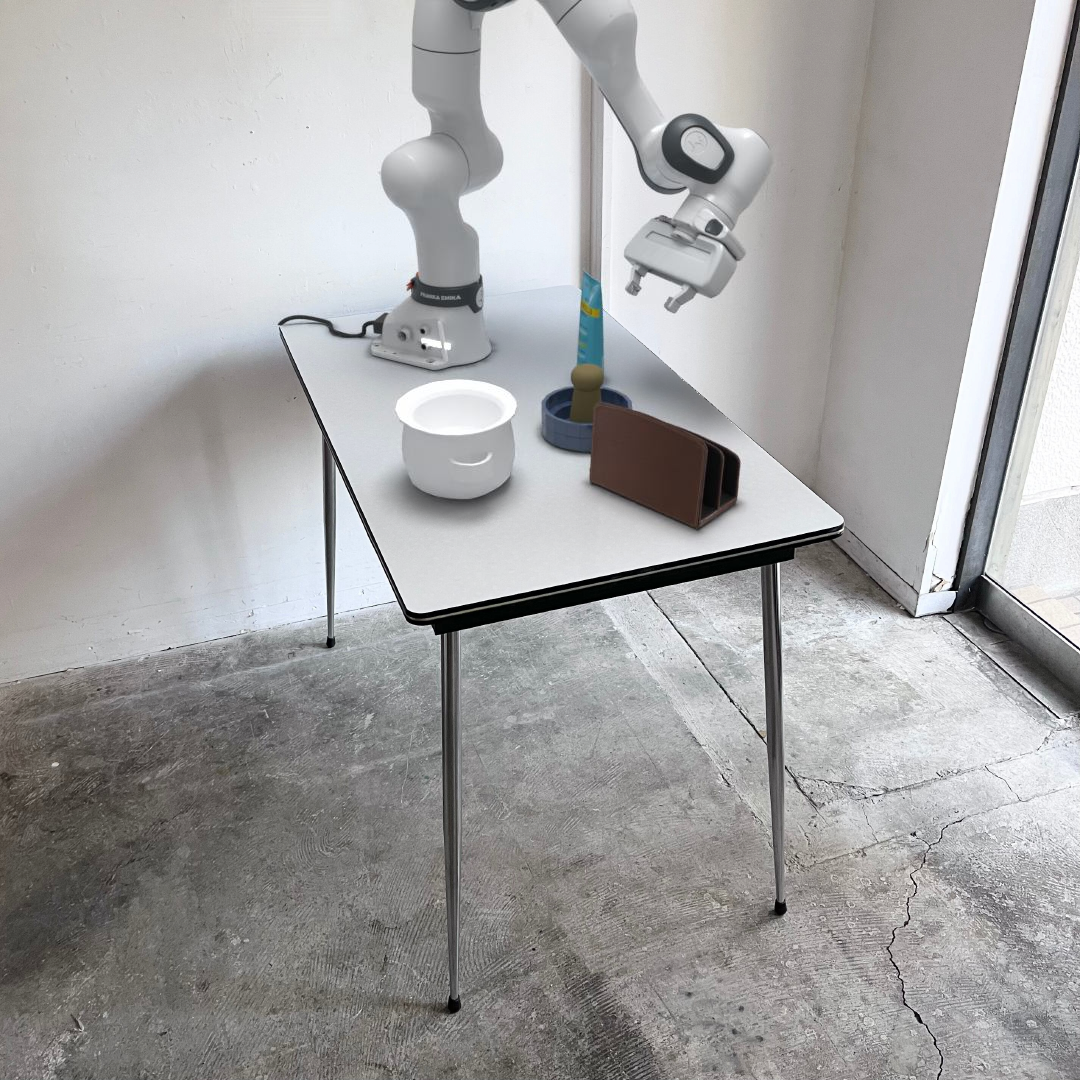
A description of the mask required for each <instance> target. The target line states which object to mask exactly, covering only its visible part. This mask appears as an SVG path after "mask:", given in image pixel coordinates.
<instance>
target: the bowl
mask: <svg viewBox="0 0 1080 1080" xmlns="http://www.w3.org/2000/svg"><path fill="white" fill-rule="evenodd" d="M600 390H601V399H602V403H608V404H613V405H617V406H621V407H625V408H629V409H632V410H634V409H633V401H632V400H631V398H630V397H628V395H627V394H625V393H623V392H621V391H619V390H618V389H614V388H611V387H607V386H603V385H601V387H600ZM573 392H574V386H573V385H570V386H564V387H561V388H558V389H554V390H553V391H551V392H549V393H548V394H545V396H544V397H543V399H541V406H540V407H541V415H540V416H541V434H542V436H543V437H544V439H545V440H546V441H547V442H549V443H550V444H552V445H554V446H555V447H556V446H557V447H560V448H563V449H565V450H568V451H569V450H570V451H577V452H591V440H592V428H593V423H578V422H571V421H569V418H570V411H571V405H572V398H573Z"/></svg>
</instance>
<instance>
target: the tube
mask: <svg viewBox="0 0 1080 1080" xmlns="http://www.w3.org/2000/svg"><path fill="white" fill-rule="evenodd" d="M582 271H583V274H582V284H581V293H580V305H579V320H578V321H579V322H578V336H577V337H578V338H577V355H576V356H577V357H576V359H577V360H576V366H578V365H580V364H594V365H597V366H599V367H600V368H601V369H602V371H603V373H604V374H605V348H604V346H605V345H604V343H605V341H604V340H605V339H604V304H603V303H604V302H603V290H602V282H601V281H600V280H598V279H597V278H596V277H595V278H594V277H593V276H592V275H590V274H589V273H588V272H587V271H586V270H585V269H584V268H582Z"/></svg>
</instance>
